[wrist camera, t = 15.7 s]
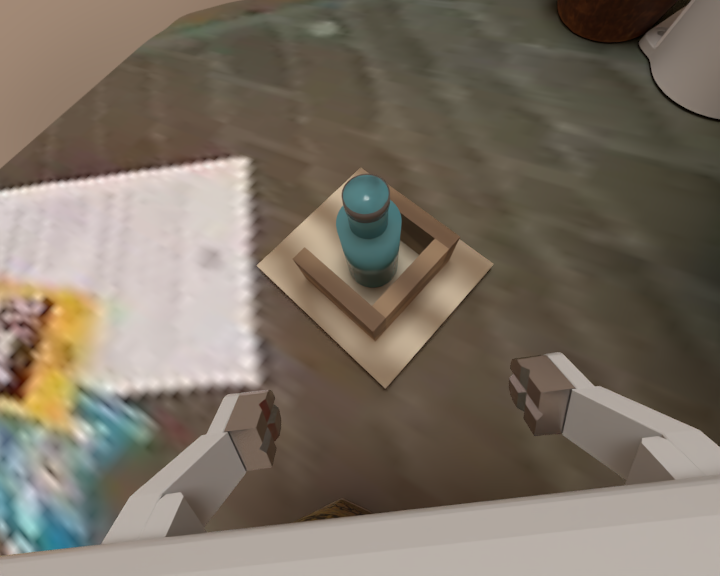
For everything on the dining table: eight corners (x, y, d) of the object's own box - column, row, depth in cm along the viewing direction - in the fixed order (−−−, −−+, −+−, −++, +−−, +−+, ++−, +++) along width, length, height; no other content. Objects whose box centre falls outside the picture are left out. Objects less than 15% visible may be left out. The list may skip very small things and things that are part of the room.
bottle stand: (361, 173, 37) (356, 133, 31) (490, 267, 32) (513, 241, 26) (260, 269, 34) (235, 244, 28) (385, 388, 29) (385, 387, 24)
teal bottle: (371, 233, 33) (364, 150, 22) (407, 262, 32) (419, 190, 21) (338, 266, 32) (312, 197, 21) (374, 297, 31) (367, 242, 20)
